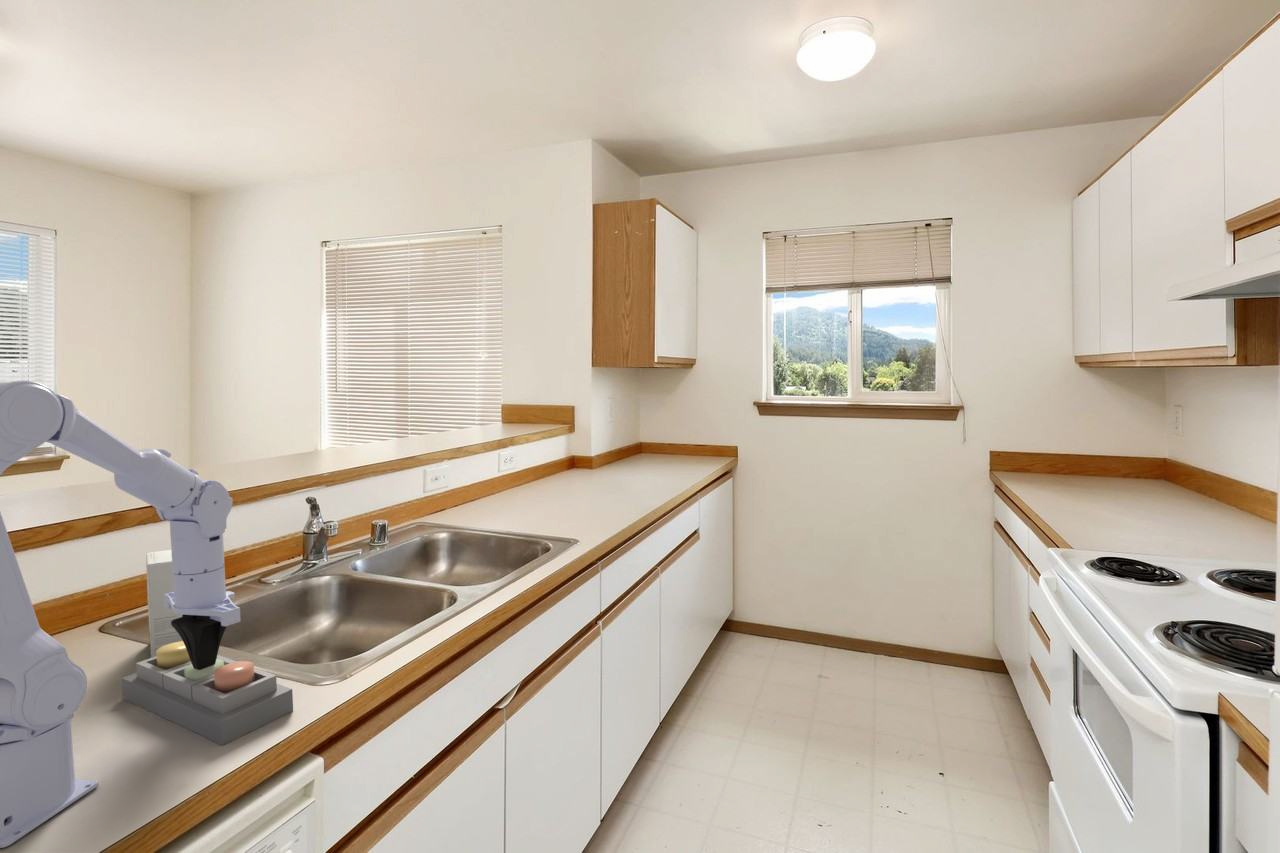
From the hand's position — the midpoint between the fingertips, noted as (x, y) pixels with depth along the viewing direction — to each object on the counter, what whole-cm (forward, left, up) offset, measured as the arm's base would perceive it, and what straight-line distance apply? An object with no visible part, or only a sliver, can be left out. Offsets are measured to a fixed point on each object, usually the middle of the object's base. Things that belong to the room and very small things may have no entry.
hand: (204, 666), depth 85 cm
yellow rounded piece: (+3, +7, -1) cm, 7 cm away
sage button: (0, 0, -2) cm, 2 cm away
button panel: (0, 0, -5) cm, 5 cm away
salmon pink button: (-3, -6, -1) cm, 7 cm away
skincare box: (+17, +20, -6) cm, 27 cm away
